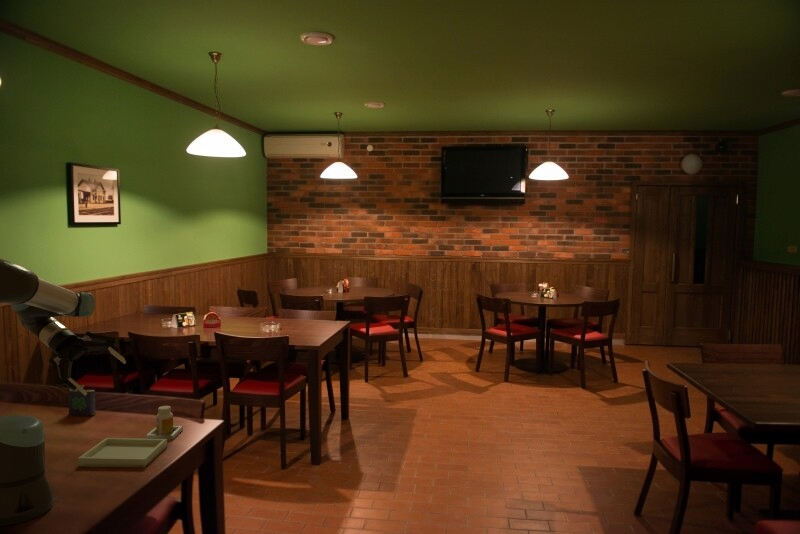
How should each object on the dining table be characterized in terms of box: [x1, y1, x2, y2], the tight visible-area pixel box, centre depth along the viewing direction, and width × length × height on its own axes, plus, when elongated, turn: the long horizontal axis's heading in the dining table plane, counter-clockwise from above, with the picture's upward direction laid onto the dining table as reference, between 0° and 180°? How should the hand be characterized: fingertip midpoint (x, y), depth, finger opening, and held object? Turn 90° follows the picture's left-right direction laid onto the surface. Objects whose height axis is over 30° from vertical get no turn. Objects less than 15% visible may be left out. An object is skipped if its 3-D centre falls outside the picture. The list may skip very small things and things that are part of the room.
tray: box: [77, 437, 168, 468], centre depth 172 cm, size 16×20×2 cm
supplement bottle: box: [155, 405, 174, 434], centre depth 190 cm, size 5×5×10 cm
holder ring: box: [145, 425, 184, 441], centre depth 190 cm, size 9×9×2 cm
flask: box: [68, 384, 96, 417], centre depth 208 cm, size 10×3×12 cm, turn 88°
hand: (105, 376), depth 166 cm, fingers open, 13 cm apart
